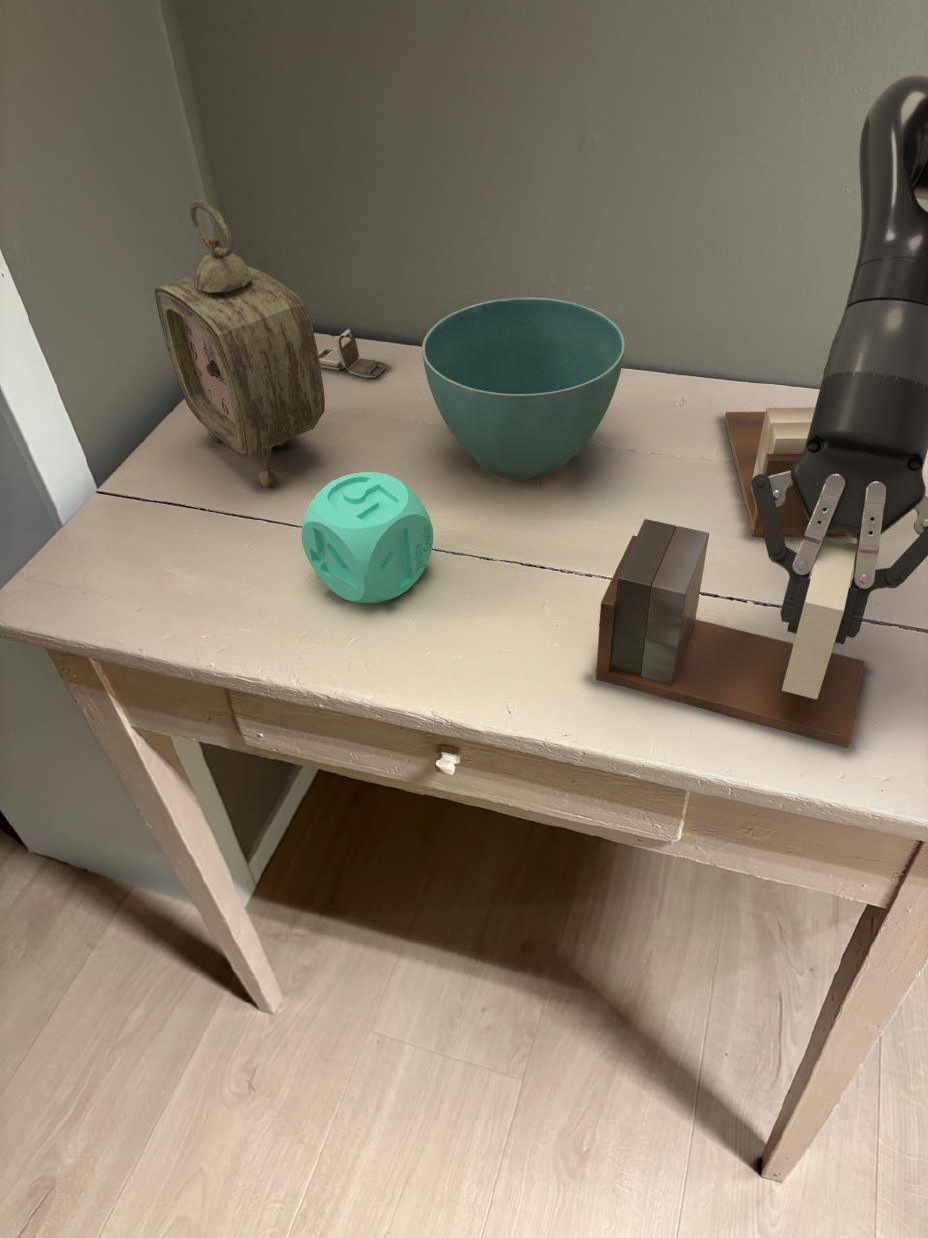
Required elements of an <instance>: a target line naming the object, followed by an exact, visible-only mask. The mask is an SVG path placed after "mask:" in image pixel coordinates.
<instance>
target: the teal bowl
mask: <svg viewBox="0 0 928 1238" xmlns="http://www.w3.org/2000/svg"><path fill="white" fill-rule="evenodd" d="M625 346H626V342H625V337H624V335H623V333H622V330H621V329H620V328H619V326H618V325H617V324H616V323H615V322H614V321H613V320H612V319H610V318H609V317H607V316H606V315H604V314H603V313H601V312H599V311H597V310H595V309H592V308H590V307H588V306H585V305H582V304H578V303H575V302H571V301H568V300H561V299H556V298H546V297H511V298H502V299H501V298H500V299H493V300H489V301H484V302H479V303H476V304H473V305H469V306H467V307H464V308H462V309H459V310H456V311H455V312H452V313H450V314H448V315H446V316H445V317H443V318H442V319H440V320H439V321H438V322H436V323H435V324H434V325H433V326H432V327H431V328H430V329H429V330H428V332H427V333H426V335H425V337H424V338H423V341H422V344H421V353H422V360H423V367H424V371H425V375H426V380H427V383H428V386H429V389H430V392H431V395H432V398H433V400H434V403H435V405H436V407H437V410H438V411H439V414H440V416H441V417H442V420H443V421H444V423H445V425H446V426H447V428H448V430H449V431H450V433H451V434H452V436H453V437H454V439H455V440H456V441H457V442H458V444H459V445H460V446H461V447H462V449H464V451H466V452H467V454H469V455H470V456H471V457H472V458H473V459H474V460H475V461H476V462H477V463H478V464H480V465H481V466H482V467H483V468H484V469H486V470H487V471H489V472H490V473H492V474H494V475H496V476H499V477H502V478H506V479H510V480H518V481H519V480H522V481H523V480H524V481H526V480H533V479H540V478H543V477H546V476H548V475H551V474H553V473H555V472H557V471H558V470H559V469H561V468H562V467H563V466H565V465H566V464H567V463H568V462H569V461H570V460H572V458H573V457H575V455H577V454H578V453H579V452H580V451H581V449H583V447H584V446H585V445H587V443H588V442H589V440H590V439H591V438H592V437H593V435H594V434H595V432H596V431H597V430H598V427H599V426H600V424H601V422H602V421H603V419H604V417H605V415H606V413H607V411H608V409H609V407H610V404H611V403H612V400H613V398H614V395H615V392H616V389H617V386H618V384H619V380H620V376H621V372H622V368H623V362H624V358H625V357H624V356H625V349H626V347H625Z"/></svg>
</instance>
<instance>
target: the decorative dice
mask: <svg viewBox="0 0 928 1238" xmlns="http://www.w3.org/2000/svg"><path fill="white" fill-rule="evenodd" d="M300 535H301V536H300V537H301V543H302V549H303V550H304V553H305V556H306V558H307V560H308V562H309V564H310V566H311V567H312V569H313V571H314V572H315V574H316V575H317V576H318V578H319V579H320V580H321V581H322V582H323V584H324V585H325V586H326V587H327V588H328V589H329V590H331V591H332V592H333V593H334V594H336V595H337V596H338V597H340V598H341V599H344V600H345V601H350V602H353V603H359V604H376V603H377V604H379V603H383V602H386V601H390V600H392V599H395V598H397V597H399V596H401V595H402V594H404V593H405V592H407V591H408V590H409V589H410V588H411V587H412V586H413V585H415V584H416V582H417V581H418V580H419V578H420V577H421V575H422V574H423V573H424V571H425V570H426V568H427V565H428V563H429V561H430V558H431V555H432V551H433V546H434V528H433V524H432V521H431V518H430V515H429V513H428V511H427V509H426V508H425V505H424V504H423V502H422V500H421V499H420V498H419V496H418V495H417V494H416V493H415V492H414V490H412V488H410V487H409V486H408V485H407V484H406V483H405V482H403V481H401V479H398V478H396V477H394V476H392V475H390V474H386V473H383V472H374V471H362V472H355V473H350V474H346V475H342V476H340V477H338V478H336V479H333V480H332V481H330V482H329V483H328V484H326V485H325V486H324V487H322V489H320V491H318V493H317V494H316V495H315V496H314V498H313V499H312V501H311V502H310V503H309V506H308V508H307V510H306V512H305V514H304V517H303V520H302V526H301V534H300Z"/></svg>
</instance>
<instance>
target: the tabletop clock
mask: <svg viewBox="0 0 928 1238" xmlns="http://www.w3.org/2000/svg"><path fill="white" fill-rule="evenodd" d="M198 209H201V210H203V211H204V212H206V213H208V214H209V216H211V217H212V218H213V219H214V220H215V221H216V222H217V224H218V225H219V227H220V228H221V231H222V233H223V234H224V235H225V238H226V243H227V247H226V248H224V247H222V244H221V239H220V237H219V235H216V234H211V235H209V236H208V235H206V234H205V232H204V230H203V229H201V227H200V225H199V223H198V219H197V210H198ZM189 215H190V219H191V223H192V226H193V228H194V231H195V232H196V234H197V236H198V238H199V240H200V241H201V242H202V243H203V245H204V246H205V247H206V248H207V249H208V250H209V252H210V254H207V255H205V256H204V257H202V258H201V259H200V260H199V261H198V263H197V264H196V266H195V268H194V271H193V275H191V276H189V277H185V278H182V279H180V280H176V281H174V282H171V283H168V284H165V285H162V286H159V287H156V288H154V295H155V303H156V308H157V312H158V317H159V321H160V326H161V329H162V332H163V336H164V340H165V345H166V347H167V351H168V354H169V357H170V361H171V363H172V366H173V370H174V373H175V377H176V379H177V382H178V385H179V388H180V391H181V393H182V396H183V397H184V400H185V402H186V405H187V407H188V408H189V410H190V411H191V413H192V414H193V415H194V417H196V419H197V421H199V422H200V424H202V426H203V427H204V428H206V429H207V436H208V438H209V439H210V440H212V441H213V442H218V441H219V442H221V443H222V444H223V445H224V446H226V447H227V448H228V449H230V450H231V451H232V452H234V453H235V454H237V455H238V456H240V457H242V458H247V459H249V458H251V457H253V456H255V455H257V454H259V453H262V461H263V470H262V471H261V472H260V473H259V475H258V479H259V482H260V484H261V485H262V486H264V487H271V486H273V485H274V484H275V483H276V481H277V476H276V473H275V472H274V471H273V470H272V469H271V461H272V459H271V458H272V455H271V454H272V450H273V447H275V446H285V445H287V444H288V443H289V440H291V439H294V438H295V437H298V436H300V435H302V434H304V433H307V432H309V431H311V430H314V429H315V427H316V426H317V424H318V422H319V421H320V419H321V418H322V417H323V415H324V413H325V407H326V399H325V398H326V397H325V388H324V381H323V375H322V368H321V367H320V361H319V356H318V353H319V351H318V346H317V341H316V335H315V332H314V327H313V323H312V320H311V316H310V314H309V311H308V308H307V305H306V304H305V302H303V300H302V299H301V297H300V296H298V294H297V293H295V292H294V291H292V290H291V289H289V288H288V287H287V286H286V285H284V284H283V283H282V282H280V281H278V280H277V279H276V278H274V277H272V276H270V275H269V274H267V273H265V272H263V271H261V270H259V269H257V268H254V267H251V266H247V264H246V262H245V261H244V260H243V259H242V258H241V257H240V256H238V255H237V254H235V253H233V251H234V241H233V237H232V233H231V231H230V228H229V225H228V224H227V222H226V220H225V219H224V217H223V215H222V214H221V213H220V211H219V210H218V209H217V208H216V207H214V206H213V205H212V204H210V203H209V202H207V201H205V200H204V199H203V200H202V199H196V200H193V201H192V203H190V207H189Z"/></svg>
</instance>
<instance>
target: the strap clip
mask: <svg viewBox="0 0 928 1238" xmlns="http://www.w3.org/2000/svg"><path fill="white" fill-rule="evenodd" d="M346 336H349V340H348V341H346V342H345V343H344V344H343V345H342V340H343V339H344V338H345V337H346ZM336 347H337V348H334V347H331V348H330V347H327V348H323V349H321V351H319V352H318V356H319V361H320V367H321V369H328V370H332V371H340V370H343V369H344V368H345V370H347V371H348V373H349V374H350V375H353V376H358V377H361V378H367V379H368V378H369V379H372V378H376V377H379V375H380V374H381V373H383V371H384V370H385V369H386V368H387V364H386V363H385V362H381V361H378V360H372V359H366V358H360V353H359V350H358V344H357V341H356V336H355V334H354V331H353V329H352V328H348V329H346V330H344V332H342V334H340V335H339V336H337V339H336ZM376 368H379V369H377V370H376V371H375V372H374V373H372V371H373V370H374V369H376Z"/></svg>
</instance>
